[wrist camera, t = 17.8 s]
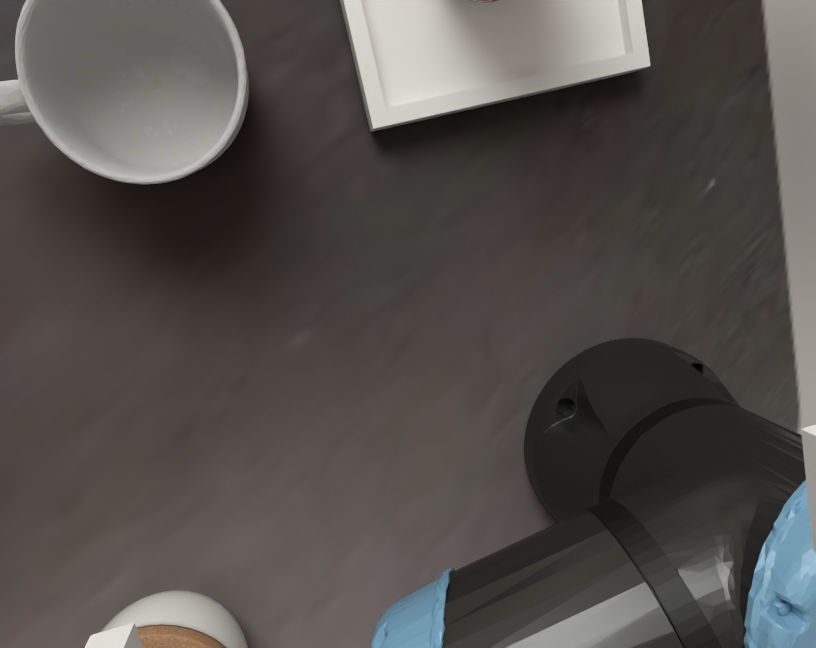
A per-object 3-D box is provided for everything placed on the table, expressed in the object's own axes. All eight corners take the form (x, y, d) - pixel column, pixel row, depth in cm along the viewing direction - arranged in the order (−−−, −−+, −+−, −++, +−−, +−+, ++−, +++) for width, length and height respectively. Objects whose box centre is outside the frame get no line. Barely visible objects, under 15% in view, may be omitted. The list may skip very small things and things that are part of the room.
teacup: (252, -1, 39) (236, -52, 31) (265, 184, 41) (253, 181, 33) (1, -4, 37) (-82, -59, 29) (28, 191, 39) (-43, 188, 31)
